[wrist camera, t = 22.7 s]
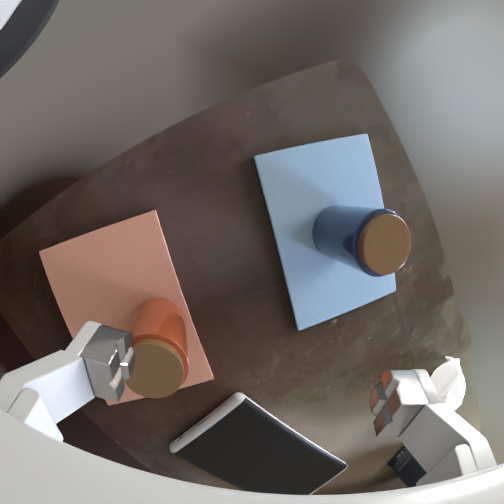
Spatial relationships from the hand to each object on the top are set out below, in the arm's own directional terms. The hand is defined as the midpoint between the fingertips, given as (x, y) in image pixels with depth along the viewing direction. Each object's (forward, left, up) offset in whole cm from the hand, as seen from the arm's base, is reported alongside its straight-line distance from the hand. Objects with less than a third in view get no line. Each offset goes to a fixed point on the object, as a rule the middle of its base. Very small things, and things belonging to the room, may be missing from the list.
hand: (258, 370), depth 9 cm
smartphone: (+32, -1, -24) cm, 40 cm away
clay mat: (+5, -11, -24) cm, 27 cm away
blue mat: (+2, +14, -24) cm, 28 cm away
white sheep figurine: (+33, +26, -24) cm, 49 cm away
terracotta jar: (+6, -7, -23) cm, 25 cm away
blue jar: (+2, +14, -23) cm, 28 cm away
